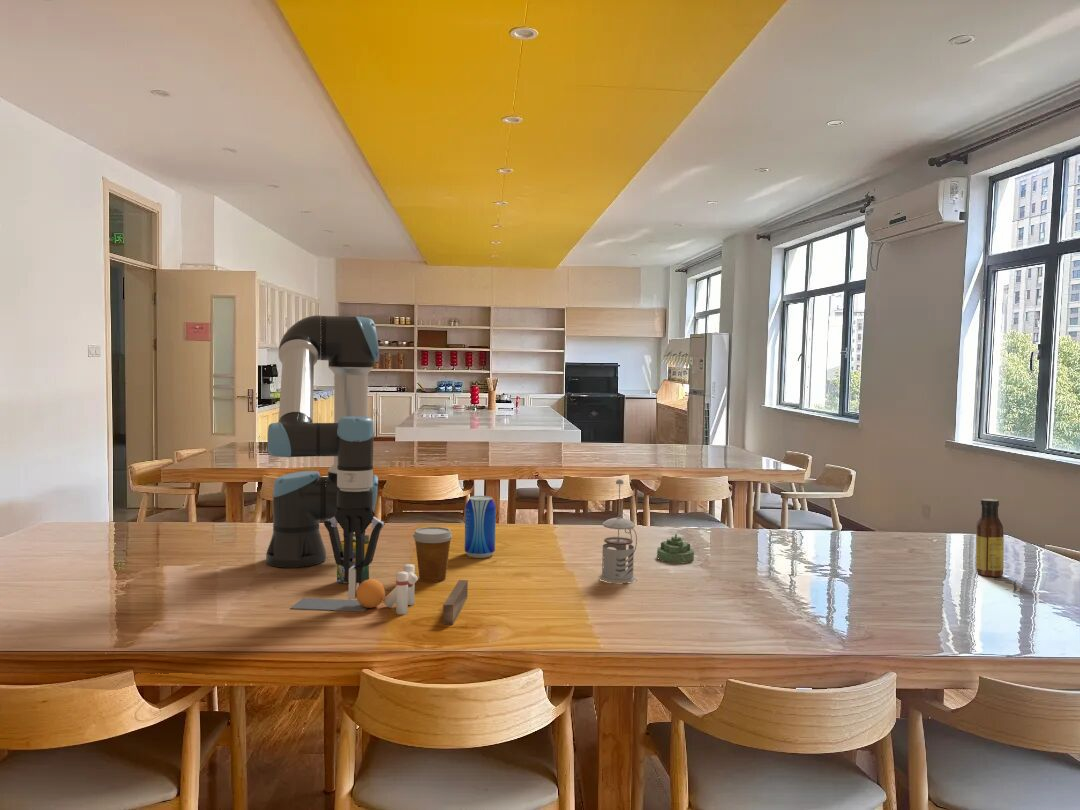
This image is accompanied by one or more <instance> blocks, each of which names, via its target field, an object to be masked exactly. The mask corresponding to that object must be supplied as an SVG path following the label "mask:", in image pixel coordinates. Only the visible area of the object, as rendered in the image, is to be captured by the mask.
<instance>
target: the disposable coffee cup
mask: <svg viewBox="0 0 1080 810" xmlns="http://www.w3.org/2000/svg"><path fill="white" fill-rule="evenodd" d="M412 537H413V540H414V543H415V550H416V552H415V553H416V558H417V560H416V561H417V568H418V580H419V581H421V582H425V583H438V582H439V581H440V582H442V581H444V580H446V575H447V568H448V560H449V554H450V553H449V552H450V545H451V540H452V538H453V534H452V531H451V529H450V528H448V527H442V526H426V527H419V528H417V529H415V530H414V534H413V536H412Z"/></svg>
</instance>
